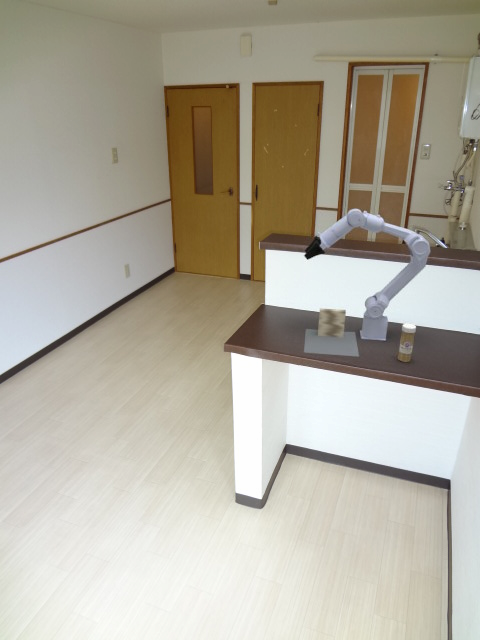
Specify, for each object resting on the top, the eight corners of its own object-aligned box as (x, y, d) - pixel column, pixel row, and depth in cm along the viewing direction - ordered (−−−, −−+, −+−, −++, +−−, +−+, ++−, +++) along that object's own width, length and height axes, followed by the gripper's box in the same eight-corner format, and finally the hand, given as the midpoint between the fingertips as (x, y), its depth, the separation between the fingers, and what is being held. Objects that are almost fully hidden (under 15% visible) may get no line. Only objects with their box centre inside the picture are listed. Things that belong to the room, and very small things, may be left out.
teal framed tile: (343, 335, 184) (345, 309, 180) (343, 337, 182) (345, 311, 178) (317, 333, 185) (319, 308, 181) (317, 335, 183) (319, 310, 179)
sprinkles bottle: (399, 362, 163) (405, 328, 158) (395, 356, 167) (400, 323, 162) (412, 362, 163) (418, 328, 158) (408, 356, 167) (413, 323, 162)
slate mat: (354, 333, 187) (355, 332, 187) (359, 357, 167) (359, 356, 167) (305, 329, 190) (305, 329, 190) (303, 353, 170) (303, 352, 170)
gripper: (328, 221, 177) (300, 242, 182) (328, 228, 163) (298, 251, 168) (339, 235, 178) (311, 256, 183) (340, 243, 165) (310, 266, 170)
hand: (305, 255), depth 176 cm, fingers open, 7 cm apart
